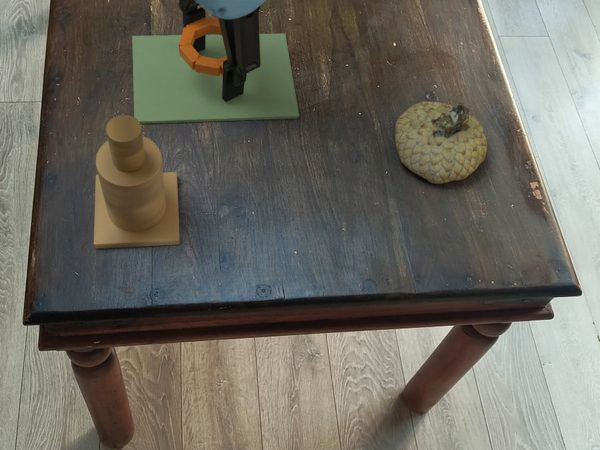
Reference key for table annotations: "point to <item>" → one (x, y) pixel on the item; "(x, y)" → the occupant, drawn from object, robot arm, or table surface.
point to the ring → (191, 55)
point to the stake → (133, 190)
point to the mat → (209, 83)
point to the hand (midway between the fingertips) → (213, 73)
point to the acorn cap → (440, 141)
